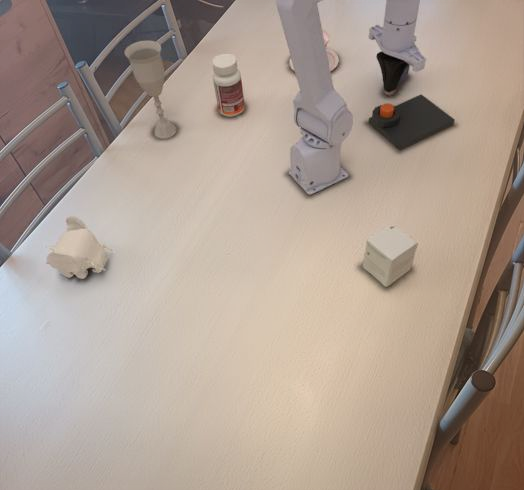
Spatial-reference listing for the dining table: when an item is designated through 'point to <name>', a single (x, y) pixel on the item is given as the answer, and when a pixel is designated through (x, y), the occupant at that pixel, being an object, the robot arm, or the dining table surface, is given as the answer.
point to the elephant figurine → (77, 251)
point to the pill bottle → (228, 85)
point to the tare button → (386, 110)
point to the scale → (411, 122)
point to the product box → (389, 254)
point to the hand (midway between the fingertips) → (390, 89)
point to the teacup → (331, 54)
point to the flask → (402, 79)
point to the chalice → (150, 79)
